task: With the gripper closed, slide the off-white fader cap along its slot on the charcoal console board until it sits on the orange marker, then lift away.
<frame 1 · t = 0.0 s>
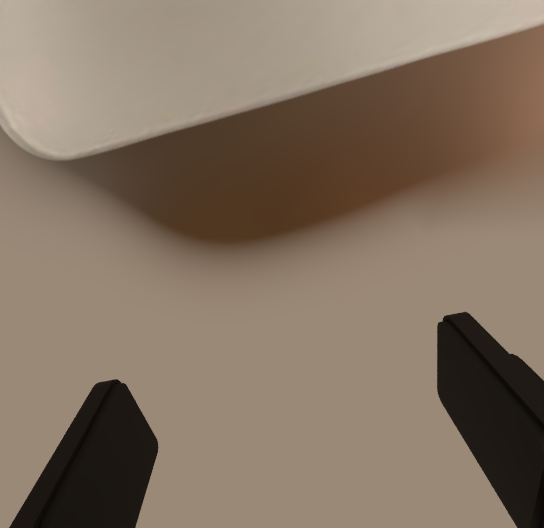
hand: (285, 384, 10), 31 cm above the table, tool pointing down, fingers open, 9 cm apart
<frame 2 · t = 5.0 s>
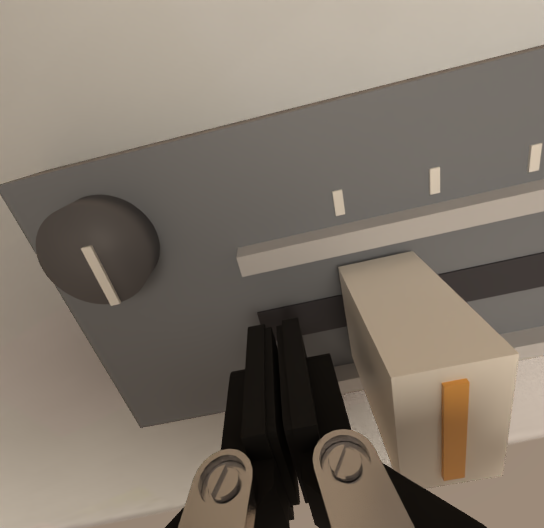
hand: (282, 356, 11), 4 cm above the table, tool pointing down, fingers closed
fader: (408, 356, 10), point 5 cm above the table, slide at 0.9 cm, touching gripper
console: (479, 213, 13), on the table
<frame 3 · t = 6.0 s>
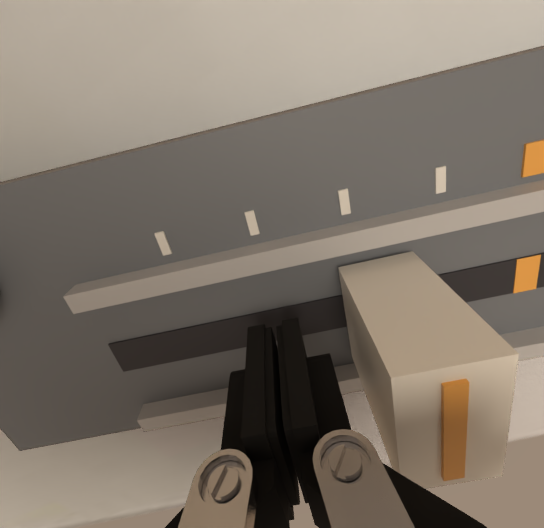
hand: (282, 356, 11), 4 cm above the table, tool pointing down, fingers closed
fader: (408, 356, 10), point 5 cm above the table, slide at 6.7 cm, touching gripper
console: (338, 245, 14), on the table
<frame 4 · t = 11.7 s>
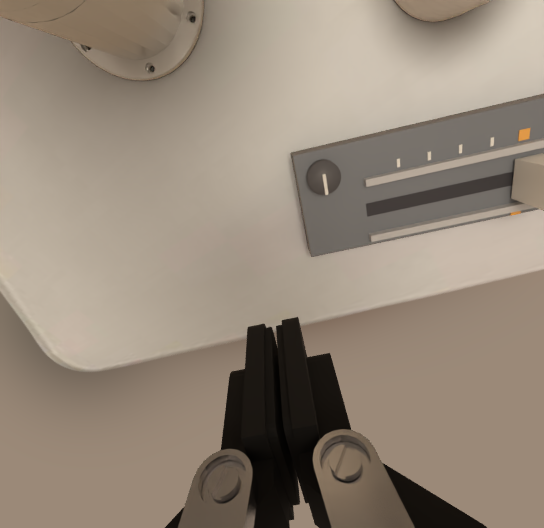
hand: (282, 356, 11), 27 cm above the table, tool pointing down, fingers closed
console: (446, 171, 35), on the table
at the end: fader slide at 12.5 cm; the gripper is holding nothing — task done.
